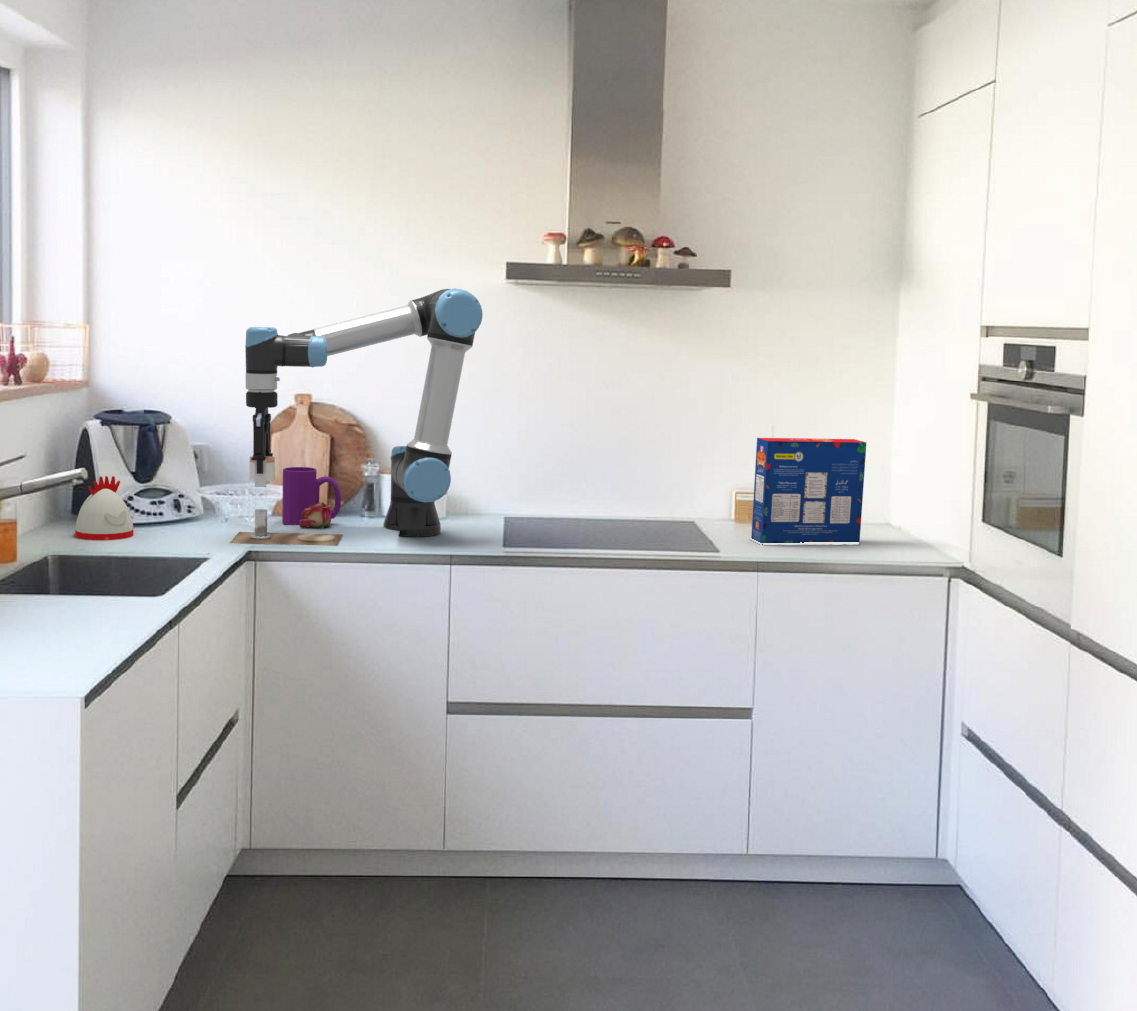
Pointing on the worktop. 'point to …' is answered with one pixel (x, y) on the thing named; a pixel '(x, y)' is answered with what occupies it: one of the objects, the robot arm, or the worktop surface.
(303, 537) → the coaster
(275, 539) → the board
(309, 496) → the mug
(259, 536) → the post
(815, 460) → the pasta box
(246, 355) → the robot arm
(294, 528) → the worktop surface
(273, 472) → the cap
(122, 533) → the kitchen timer
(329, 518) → the flower
